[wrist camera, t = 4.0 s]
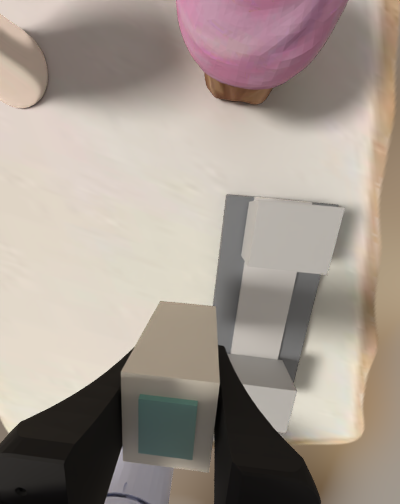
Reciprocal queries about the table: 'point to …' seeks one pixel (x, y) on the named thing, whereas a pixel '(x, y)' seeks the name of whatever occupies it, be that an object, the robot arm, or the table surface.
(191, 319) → the block
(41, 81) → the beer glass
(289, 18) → the cupcake
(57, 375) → the table surface
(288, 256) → the rail board
